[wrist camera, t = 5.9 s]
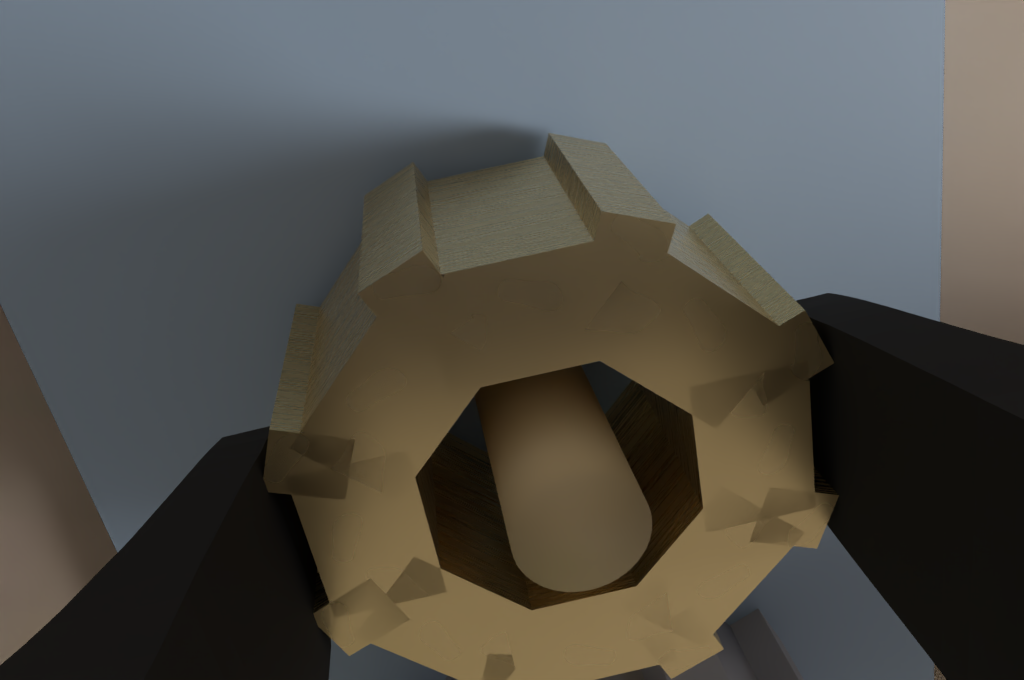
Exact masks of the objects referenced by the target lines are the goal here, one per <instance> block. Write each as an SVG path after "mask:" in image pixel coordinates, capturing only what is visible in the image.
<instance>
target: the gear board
mask: <svg viewBox="0 0 1024 680" xmlns="http://www.w3.org/2000/svg"><path fill="white" fill-rule="evenodd" d="M944 40H945V0H0V305H1V307H2V309H3V311H4V313H5V315H6V317H7V320H8V322H9V324H10V326H11V328H12V330H13V332H14V334H15V336H16V339H17V341H18V343H19V345H20V347H21V349H22V351H23V353H24V356H25V358H26V360H27V362H28V364H29V366H30V368H31V370H32V372H33V375H34V377H35V379H36V381H37V383H38V385H39V387H40V389H41V392H42V394H43V396H44V398H45V400H46V402H47V404H48V406H49V409H50V411H51V413H52V415H53V417H54V419H55V421H56V423H57V425H58V428H59V430H60V432H61V434H62V436H63V438H64V440H65V442H66V445H67V447H68V449H69V451H70V453H71V455H72V457H73V459H74V462H75V464H76V466H77V468H78V470H79V472H80V474H81V476H82V478H83V481H84V483H85V485H86V487H87V489H88V491H89V493H90V495H91V498H92V500H93V502H94V504H95V506H96V508H97V510H98V512H99V515H100V517H101V519H102V521H103V523H104V525H105V527H106V529H107V531H108V534H109V536H110V538H111V540H112V542H113V544H114V546H115V548H116V551H117V553H118V552H119V551H120V550H121V549H122V548H123V547H124V546H125V545H126V543H127V542H128V541H129V540H130V539H131V538H132V537H133V536H134V535H135V533H136V532H137V531H138V530H139V529H140V528H141V527H142V526H143V524H144V523H145V522H146V521H147V520H148V519H149V518H150V517H151V515H152V514H153V513H154V512H155V511H156V510H157V509H158V508H159V506H160V505H161V504H162V503H163V502H164V501H165V500H166V499H167V497H168V496H169V495H170V494H171V493H172V492H173V490H174V489H175V488H176V487H177V486H178V485H179V484H180V482H181V481H182V480H183V479H184V478H185V477H186V476H187V474H188V473H189V472H190V471H191V470H192V469H193V467H194V466H195V465H196V464H197V463H198V462H199V461H200V460H201V458H202V457H203V456H204V455H205V454H206V453H207V452H208V451H209V450H210V449H211V448H212V447H213V446H214V445H215V444H216V443H217V442H218V441H219V440H220V439H221V438H222V437H226V436H230V435H234V434H238V433H243V432H247V431H251V430H255V429H259V428H264V427H268V426H270V424H271V419H272V414H273V410H274V405H275V400H276V396H277V391H278V386H279V382H280V377H281V372H282V368H283V363H284V358H285V354H286V349H287V345H288V340H289V335H290V331H291V326H292V321H293V317H294V312H295V307H296V304H302V305H309V306H316V307H320V306H321V304H322V302H323V301H324V299H325V298H326V296H327V295H328V293H329V292H330V290H331V288H332V287H333V285H334V284H335V282H336V281H337V279H338V277H339V276H340V274H341V273H342V271H343V270H344V268H345V267H346V265H347V263H348V262H349V260H350V259H351V257H352V256H353V254H354V252H355V251H356V249H357V248H358V246H359V245H360V243H361V238H362V223H363V209H364V196H365V195H366V194H367V193H369V192H370V191H372V190H373V189H375V188H376V187H378V186H379V185H381V184H382V183H383V182H385V181H386V180H388V179H389V178H391V177H392V176H394V175H395V174H396V173H398V172H399V171H401V170H402V169H404V168H405V167H407V166H408V165H410V164H411V163H412V162H414V164H415V165H416V166H417V168H418V169H419V171H420V172H421V173H422V175H423V176H424V177H425V179H426V180H427V181H431V180H436V179H440V178H445V177H450V176H454V175H459V174H463V173H468V172H473V171H477V170H482V169H487V168H491V167H496V166H500V165H505V164H510V163H514V162H519V161H524V160H528V159H533V158H537V157H542V156H544V152H545V147H546V143H547V138H548V134H549V133H553V134H558V135H563V136H569V137H574V138H580V139H585V140H590V141H596V142H601V143H606V144H607V145H608V146H609V147H610V149H611V150H612V151H613V152H614V153H615V154H616V156H617V157H618V158H619V159H620V160H621V161H622V162H623V164H624V165H625V166H626V167H627V168H628V169H629V170H630V172H631V173H632V174H633V175H634V176H635V177H636V178H637V180H638V181H639V182H640V183H641V184H642V185H643V186H644V188H645V189H646V190H647V191H648V192H649V193H650V194H651V196H652V197H653V198H654V199H655V200H656V201H657V202H658V204H659V205H660V206H661V207H662V208H663V209H664V210H666V211H667V212H669V213H670V214H672V215H673V216H675V217H676V218H678V219H679V220H681V221H682V222H684V223H685V224H686V225H688V226H690V225H691V224H693V223H694V222H696V221H697V220H699V219H701V218H702V217H704V216H705V215H707V214H709V215H710V216H711V217H712V218H713V219H714V220H715V221H716V222H717V223H718V224H719V225H720V226H721V227H722V228H723V229H724V230H725V231H726V232H727V233H728V234H729V235H730V236H731V237H732V238H733V239H734V240H735V241H736V242H737V243H738V244H739V245H740V246H741V247H742V248H743V249H744V250H745V251H746V252H747V253H748V254H749V255H750V256H751V257H752V258H753V259H754V260H755V261H756V262H757V263H758V264H759V265H760V266H761V267H762V268H763V269H764V270H765V271H766V272H767V273H768V274H769V275H770V276H771V277H772V278H773V279H774V280H775V281H776V282H777V283H778V284H779V285H780V286H781V287H782V288H783V289H784V290H785V291H786V292H787V293H788V294H789V295H790V296H791V297H792V298H793V299H794V300H795V301H796V300H801V299H805V298H809V297H813V296H817V295H822V294H826V293H832V294H839V295H844V296H849V297H853V298H858V299H862V300H866V301H869V302H873V303H877V304H880V305H884V306H887V307H891V308H894V309H898V310H901V311H905V312H908V313H911V314H915V315H918V316H922V317H925V318H928V319H932V320H935V321H939V322H940V282H941V221H942V161H943V101H944ZM631 381H632V379H630V378H628V377H627V376H625V375H623V374H622V373H620V372H618V371H616V370H615V369H613V368H611V367H610V366H608V365H606V364H605V363H603V362H601V361H597V362H592V363H588V364H583V365H579V366H574V367H570V368H565V369H561V370H556V371H552V372H547V373H543V374H538V375H534V376H529V377H525V378H521V379H516V380H512V381H507V382H503V383H498V384H494V385H489V386H485V387H480V389H479V390H478V391H477V393H476V394H475V396H474V397H473V398H472V400H471V401H470V402H469V404H468V405H467V407H466V408H465V409H464V411H463V412H462V413H461V415H460V416H459V418H458V419H457V420H456V422H455V423H454V424H453V426H452V427H451V429H450V430H449V431H448V433H450V434H452V435H454V436H456V437H458V438H460V439H462V440H464V441H466V442H468V443H470V444H472V445H474V446H475V447H477V448H479V449H481V450H483V451H485V452H487V453H488V455H489V459H490V463H491V467H492V472H493V476H494V480H495V484H496V488H497V493H498V497H499V501H500V505H501V509H502V514H503V518H504V522H505V526H506V531H507V535H508V539H509V543H510V547H511V552H512V555H513V558H514V560H515V562H516V564H517V566H518V567H519V569H520V570H521V571H522V572H523V573H524V574H525V575H526V576H527V577H528V578H529V579H530V580H532V581H533V582H535V583H537V584H539V585H540V586H543V587H545V588H548V589H552V590H556V591H563V592H580V591H587V590H592V589H596V588H599V587H602V586H604V585H607V584H609V583H611V582H613V581H615V580H616V579H618V578H620V577H621V576H623V575H624V574H625V573H627V572H628V571H629V570H630V569H631V568H632V567H633V566H634V565H635V564H636V563H637V562H638V561H639V559H640V558H641V556H642V555H643V553H644V552H645V550H646V548H647V546H648V543H649V541H650V537H651V533H652V516H651V511H650V508H649V506H648V503H647V501H646V499H645V497H644V495H643V493H642V491H641V489H640V487H639V484H638V482H637V480H636V478H635V476H634V474H633V472H632V470H631V468H630V466H629V464H628V462H627V460H626V457H625V455H624V453H623V451H622V449H621V447H620V445H619V443H618V441H617V439H616V437H615V435H614V433H613V431H612V428H611V426H610V424H609V422H608V420H607V418H606V416H605V414H606V412H607V411H608V410H609V409H610V407H611V406H612V405H613V403H614V402H615V401H616V400H617V398H618V397H619V396H620V395H621V393H622V392H623V391H624V389H625V388H626V387H627V386H628V384H629V383H630V382H631ZM716 632H717V634H718V637H719V639H720V641H721V643H722V646H723V648H724V649H723V650H722V651H720V652H718V653H716V654H715V655H713V656H711V657H709V658H707V659H706V660H704V661H702V662H700V663H699V664H697V665H695V666H693V667H692V668H690V669H688V670H686V671H685V672H683V673H681V674H679V675H677V676H676V677H674V678H672V679H671V678H670V677H669V675H668V674H667V673H666V672H665V671H664V669H663V668H662V667H661V666H660V665H656V666H652V667H647V668H643V669H639V670H634V671H630V672H626V673H622V674H617V675H613V676H609V677H604V678H600V679H596V680H934V662H933V661H932V660H931V658H930V657H929V656H928V655H927V653H926V652H925V651H924V649H923V648H922V647H921V646H920V644H919V643H918V642H917V640H916V639H915V638H914V637H913V635H912V634H911V633H910V632H909V630H908V629H907V628H906V626H905V625H904V624H903V623H902V621H901V620H900V619H899V617H898V616H897V615H896V614H895V612H894V611H893V610H892V608H891V607H890V606H889V605H888V603H887V602H886V601H885V600H884V598H883V597H882V596H881V594H880V593H879V592H878V591H877V589H876V588H875V587H874V585H873V584H872V583H871V582H870V580H869V579H868V578H867V577H866V575H865V574H864V573H863V571H862V570H861V569H860V567H859V566H858V565H857V564H856V562H855V561H854V560H853V558H852V557H851V556H850V554H849V553H848V552H847V551H846V549H845V548H844V547H843V545H842V544H841V543H840V541H839V540H838V539H837V537H836V536H835V535H834V533H833V532H832V531H831V529H830V528H829V527H828V525H827V526H826V528H825V531H824V533H823V535H822V538H821V540H820V543H819V545H818V547H817V549H816V548H806V547H796V546H793V547H792V548H791V549H790V550H789V552H788V553H787V554H786V555H785V556H784V557H783V558H782V559H781V560H780V561H779V562H778V564H777V565H776V566H775V567H774V568H773V569H772V570H771V571H770V572H769V573H768V575H767V576H766V577H765V578H764V579H763V580H762V581H761V582H760V583H759V584H758V585H757V587H756V588H755V589H754V590H753V591H752V592H751V593H750V594H749V595H748V596H747V598H746V599H745V600H744V601H743V602H742V603H741V604H740V605H739V606H738V607H737V608H736V610H735V611H734V612H733V613H732V614H731V615H730V616H729V617H728V618H727V619H726V620H725V622H724V623H723V624H722V625H721V626H720V627H719V628H718V629H717V630H716ZM329 680H458V679H455V678H453V677H450V676H448V675H445V674H443V673H441V672H438V671H436V670H433V669H431V668H429V667H426V666H424V665H421V664H419V663H417V662H414V661H412V660H409V659H407V658H405V657H402V656H400V655H397V654H395V653H393V652H390V651H388V650H385V649H383V648H381V647H378V646H376V645H373V644H371V643H370V644H369V645H367V646H365V647H364V648H362V649H360V650H359V651H357V652H355V653H354V654H352V655H350V656H349V655H348V654H347V653H345V652H344V651H343V650H342V649H341V648H340V647H339V646H338V645H337V644H336V643H335V642H334V641H333V640H332V639H331V655H330V669H329Z"/></svg>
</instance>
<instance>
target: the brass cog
mask: <svg viewBox="0 0 1024 680" xmlns="http://www.w3.org/2000/svg"><path fill="white" fill-rule="evenodd" d="M597 361H601V362H603V363H605V364H606V365H608V366H610V367H611V368H613V369H615V370H616V371H618V372H620V373H622V374H623V375H625V376H627V377H628V378H630V379H632V381H631V382H630V383H629V384H628V386H627V387H626V388H625V389H624V391H623V392H622V393H621V395H620V396H619V397H618V398H617V400H616V401H615V402H614V403H613V405H612V406H611V407H610V409H609V410H608V411H607V412H606V414H605V416H606V418H607V420H608V422H609V424H610V426H611V428H612V431H613V433H614V435H615V437H616V439H617V441H618V443H619V445H620V447H621V449H622V451H623V453H624V455H625V457H626V460H627V462H628V464H629V466H630V468H631V470H632V472H633V474H634V476H635V478H636V480H637V482H638V484H639V487H640V489H641V491H642V493H643V495H644V497H645V499H646V501H647V503H648V506H649V508H650V511H651V516H652V533H651V537H650V541H649V543H648V546H647V548H646V550H645V552H644V553H643V555H642V556H641V558H640V559H639V561H638V562H637V563H636V564H635V565H634V566H633V567H632V568H631V569H630V570H629V571H628V572H627V573H625V574H624V575H623V576H621V577H620V578H618V579H616V580H615V581H613V582H611V583H609V584H607V585H604V586H602V587H599V588H596V589H592V590H587V591H580V592H563V591H556V590H552V589H548V588H545V587H543V586H540V585H539V584H537V583H535V582H533V581H532V580H530V579H529V578H528V577H527V576H526V575H525V574H524V573H523V572H522V571H521V570H520V569H519V567H518V566H517V564H516V562H515V560H514V558H513V555H512V552H511V547H510V543H509V539H508V535H507V531H506V526H505V522H504V518H503V514H502V509H501V505H500V501H499V497H498V493H497V488H496V484H495V480H494V476H493V472H492V467H491V463H490V459H489V455H488V453H487V452H485V451H483V450H481V449H479V448H477V447H475V446H474V445H472V444H470V443H468V442H466V441H464V440H462V439H460V438H458V437H456V436H454V435H452V434H450V433H448V431H449V430H450V429H451V427H452V426H453V424H454V423H455V422H456V420H457V419H458V418H459V416H460V415H461V413H462V412H463V411H464V409H465V408H466V407H467V405H468V404H469V402H470V401H471V400H472V398H473V397H474V396H475V394H476V393H477V391H478V390H479V389H480V387H485V386H489V385H494V384H498V383H503V382H507V381H512V380H516V379H521V378H525V377H529V376H534V375H538V374H543V373H547V372H552V371H556V370H561V369H565V368H570V367H574V366H579V365H583V364H588V363H592V362H597ZM832 364H834V361H833V360H832V358H831V356H830V354H829V352H828V351H827V349H826V347H825V345H824V343H823V342H822V340H821V338H820V336H819V334H818V333H817V331H816V329H815V327H814V325H813V324H812V322H811V320H810V318H809V316H808V314H807V313H806V311H805V310H804V309H803V308H802V307H801V306H800V305H799V304H798V303H797V302H796V301H795V300H794V299H793V298H792V297H791V296H790V295H789V294H788V293H787V292H786V291H785V290H784V289H783V288H782V287H781V286H780V285H779V284H778V283H777V282H776V281H775V280H774V279H773V278H772V277H771V276H770V275H769V274H768V273H767V272H766V271H765V270H764V269H763V268H762V267H761V266H760V265H759V264H758V263H757V262H756V261H755V260H754V259H753V258H752V257H751V256H750V255H749V254H748V253H747V252H746V251H745V250H744V249H743V248H742V247H741V246H740V245H739V244H738V243H737V242H736V241H735V240H734V239H733V238H732V237H731V236H730V235H729V234H728V233H727V232H726V231H725V230H724V229H723V228H722V227H721V226H720V225H719V224H718V223H717V222H716V221H715V220H714V219H713V218H712V217H711V216H710V215H709V214H707V215H705V216H704V217H702V218H701V219H699V220H697V221H696V222H694V223H693V224H691V225H690V226H688V225H686V224H685V223H684V222H682V221H681V220H679V219H678V218H676V217H675V216H673V215H672V214H670V213H669V212H667V211H666V210H664V209H663V208H662V207H661V206H660V205H659V204H658V202H657V201H656V200H655V199H654V198H653V197H652V196H651V194H650V193H649V192H648V191H647V190H646V189H645V188H644V186H643V185H642V184H641V183H640V182H639V181H638V180H637V178H636V177H635V176H634V175H633V174H632V173H631V172H630V170H629V169H628V168H627V167H626V166H625V165H624V164H623V162H622V161H621V160H620V159H619V158H618V157H617V156H616V154H615V153H614V152H613V151H612V150H611V149H610V147H609V146H608V145H607V144H606V143H601V142H596V141H590V140H585V139H580V138H574V137H569V136H563V135H558V134H553V133H549V134H548V138H547V143H546V147H545V152H544V156H542V157H537V158H533V159H528V160H524V161H519V162H514V163H510V164H505V165H500V166H496V167H491V168H487V169H482V170H477V171H473V172H468V173H463V174H459V175H454V176H450V177H445V178H440V179H436V180H431V181H427V180H426V179H425V177H424V176H423V175H422V173H421V172H420V171H419V169H418V168H417V166H416V165H415V164H414V162H412V163H411V164H410V165H408V166H407V167H405V168H404V169H402V170H401V171H399V172H398V173H396V174H395V175H394V176H392V177H391V178H389V179H388V180H386V181H385V182H383V183H382V184H381V185H379V186H378V187H376V188H375V189H373V190H372V191H370V192H369V193H367V194H366V195H365V196H364V209H363V223H362V238H361V243H360V245H359V246H358V248H357V249H356V251H355V252H354V254H353V256H352V257H351V259H350V260H349V262H348V263H347V265H346V267H345V268H344V270H343V271H342V273H341V274H340V276H339V277H338V279H337V281H336V282H335V284H334V285H333V287H332V288H331V290H330V292H329V293H328V295H327V296H326V298H325V299H324V301H323V302H322V304H321V306H320V307H316V306H309V305H302V304H296V307H295V312H294V317H293V321H292V326H291V331H290V335H289V340H288V345H287V349H286V354H285V358H284V363H283V368H282V372H281V377H280V382H279V386H278V391H277V396H276V400H275V405H274V410H273V414H272V419H271V424H270V428H269V435H268V444H267V452H266V460H265V469H264V477H263V479H264V482H265V484H266V487H267V490H268V492H271V493H281V494H290V495H292V498H293V501H294V504H295V506H296V509H297V512H298V515H299V518H300V521H301V523H302V526H303V529H304V532H305V535H306V537H307V540H308V543H309V546H310V549H311V552H312V554H313V557H314V560H315V563H316V566H317V580H316V595H315V606H314V612H313V614H314V617H315V620H316V622H317V625H318V627H319V628H320V629H321V630H323V631H324V632H325V633H326V634H327V635H328V636H329V637H330V638H331V639H332V640H333V641H334V642H335V643H336V644H337V645H338V646H339V647H340V648H341V649H342V650H343V651H344V652H345V653H347V654H348V655H349V656H350V655H352V654H354V653H355V652H357V651H359V650H360V649H362V648H364V647H365V646H367V645H369V644H370V643H371V644H373V645H376V646H378V647H381V648H383V649H385V650H388V651H390V652H393V653H395V654H397V655H400V656H402V657H405V658H407V659H409V660H412V661H414V662H417V663H419V664H421V665H424V666H426V667H429V668H431V669H433V670H436V671H438V672H441V673H443V674H445V675H448V676H450V677H453V678H455V679H458V680H596V679H600V678H604V677H609V676H613V675H617V674H622V673H626V672H630V671H634V670H639V669H643V668H647V667H652V666H656V665H660V666H661V667H662V668H663V669H664V671H665V672H666V673H667V674H668V675H669V677H670V678H671V679H672V678H674V677H676V676H677V675H679V674H681V673H683V672H685V671H686V670H688V669H690V668H692V667H693V666H695V665H697V664H699V663H700V662H702V661H704V660H706V659H707V658H709V657H711V656H713V655H715V654H716V653H718V652H720V651H722V650H723V649H724V648H723V646H722V643H721V641H720V639H719V637H718V634H717V632H716V630H717V629H718V628H719V627H720V626H721V625H722V624H723V623H724V622H725V620H726V619H727V618H728V617H729V616H730V615H731V614H732V613H733V612H734V611H735V610H736V608H737V607H738V606H739V605H740V604H741V603H742V602H743V601H744V600H745V599H746V598H747V596H748V595H749V594H750V593H751V592H752V591H753V590H754V589H755V588H756V587H757V585H758V584H759V583H760V582H761V581H762V580H763V579H764V578H765V577H766V576H767V575H768V573H769V572H770V571H771V570H772V569H773V568H774V567H775V566H776V565H777V564H778V562H779V561H780V560H781V559H782V558H783V557H784V556H785V555H786V554H787V553H788V552H789V550H790V549H791V548H792V547H793V546H796V547H806V548H816V549H817V547H818V545H819V543H820V540H821V538H822V535H823V533H824V531H825V528H826V526H827V523H828V521H829V518H830V516H831V514H832V511H833V509H834V506H835V504H836V502H837V499H838V497H839V495H838V494H837V493H836V491H835V490H834V489H833V488H832V487H831V486H830V485H829V484H828V483H827V482H826V481H825V480H824V479H823V477H822V476H821V475H820V474H819V472H818V471H817V470H816V469H815V467H814V462H813V442H812V422H811V402H810V382H809V378H810V377H812V376H814V375H815V374H817V373H819V372H820V371H822V370H824V369H825V368H827V367H829V366H830V365H832Z"/></svg>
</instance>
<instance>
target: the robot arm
mask: <svg viewBox="0 0 1024 680" xmlns="http://www.w3.org/2000/svg"><path fill="white" fill-rule="evenodd" d="M796 302H797V303H798V304H799V305H800V306H801V307H802V308H803V309H804V310H805V311H806V313H807V314H808V316H809V318H810V320H811V322H812V324H813V325H814V327H815V329H816V331H817V333H818V334H819V336H820V338H821V340H822V342H823V343H824V345H825V347H826V349H827V351H828V352H829V354H830V356H831V358H832V360H833V361H834V364H832V365H830V366H829V367H827V368H825V369H824V370H822V371H820V372H819V373H817V374H815V375H814V376H812V377H810V378H809V382H810V402H811V422H812V442H813V462H814V467H815V469H816V470H817V471H818V472H819V474H820V475H821V476H822V477H823V479H824V480H825V481H826V482H827V483H828V484H829V485H830V486H831V487H832V488H833V489H834V490H835V491H836V493H837V494H838V495H839V497H838V499H837V502H836V504H835V506H834V509H833V511H832V514H831V516H830V518H829V521H828V523H827V525H828V527H829V528H830V529H831V531H832V532H833V533H834V535H835V536H836V537H837V539H838V540H839V541H840V543H841V544H842V545H843V547H844V548H845V549H846V551H847V552H848V553H849V554H850V556H851V557H852V558H853V560H854V561H855V562H856V564H857V565H858V566H859V567H860V569H861V570H862V571H863V573H864V574H865V575H866V577H867V578H868V579H869V580H870V582H871V583H872V584H873V585H874V587H875V588H876V589H877V591H878V592H879V593H880V594H881V596H882V597H883V598H884V600H885V601H886V602H887V603H888V605H889V606H890V607H891V608H892V610H893V611H894V612H895V614H896V615H897V616H898V617H899V619H900V620H901V621H902V623H903V624H904V625H905V626H906V628H907V629H908V630H909V632H910V633H911V634H912V635H913V637H914V638H915V639H916V640H917V642H918V643H919V644H920V646H921V647H922V648H923V649H924V651H925V652H926V653H927V655H928V656H929V657H930V658H931V660H932V661H933V662H934V663H935V665H936V666H937V667H938V669H939V670H940V671H941V673H942V674H943V675H944V677H945V678H946V680H1024V345H1021V344H1017V343H1013V342H1010V341H1006V340H1002V339H998V338H995V337H991V336H987V335H984V334H980V333H977V332H973V331H970V330H966V329H963V328H959V327H956V326H952V325H949V324H946V323H942V322H939V321H935V320H932V319H928V318H925V317H922V316H918V315H915V314H911V313H908V312H905V311H901V310H898V309H894V308H891V307H887V306H884V305H880V304H877V303H873V302H869V301H866V300H862V299H858V298H853V297H849V296H844V295H839V294H832V293H826V294H822V295H817V296H813V297H809V298H805V299H801V300H796ZM269 428H270V426H268V427H264V428H259V429H255V430H251V431H247V432H243V433H238V434H234V435H230V436H226V437H222V438H221V439H220V440H219V441H218V442H217V443H216V444H215V445H214V446H213V447H212V448H211V449H210V450H209V451H208V452H207V453H206V454H205V455H204V456H203V457H202V458H201V460H200V461H199V462H198V463H197V464H196V465H195V466H194V467H193V469H192V470H191V471H190V472H189V473H188V474H187V476H186V477H185V478H184V479H183V480H182V481H181V482H180V484H179V485H178V486H177V487H176V488H175V489H174V490H173V492H172V493H171V494H170V495H169V496H168V497H167V499H166V500H165V501H164V502H163V503H162V504H161V505H160V506H159V508H158V509H157V510H156V511H155V512H154V513H153V514H152V515H151V517H150V518H149V519H148V520H147V521H146V522H145V523H144V524H143V526H142V527H141V528H140V529H139V530H138V531H137V532H136V533H135V535H134V536H133V537H132V538H131V539H130V540H129V541H128V542H127V543H126V545H125V546H124V547H123V548H122V549H121V550H120V551H119V552H118V553H117V554H116V555H115V556H114V557H113V558H112V559H111V560H110V561H109V562H108V563H107V564H106V565H105V566H104V567H103V568H102V569H101V570H100V571H99V572H98V573H97V574H96V575H95V576H94V577H93V578H92V580H91V581H90V582H89V583H88V584H87V585H86V586H85V587H84V588H83V589H82V590H81V591H80V592H79V593H78V594H77V595H76V596H75V597H74V598H73V599H72V600H71V601H70V602H69V603H68V604H67V605H66V606H65V607H64V608H63V609H62V610H61V611H60V612H59V613H58V614H57V615H56V616H55V617H54V618H53V619H52V620H51V621H50V622H49V623H48V624H46V625H45V626H44V627H43V628H42V629H41V630H40V631H39V632H38V633H37V634H36V635H34V636H33V637H32V638H31V639H30V640H29V641H28V642H27V643H26V644H25V645H23V646H22V647H21V648H20V649H19V650H18V651H17V652H15V653H14V654H13V655H12V656H11V657H10V658H8V659H7V660H6V661H5V662H4V663H3V664H1V665H0V680H329V669H330V655H331V638H330V637H329V636H328V635H327V634H326V633H325V632H324V631H323V630H321V629H320V628H319V627H318V625H317V622H316V620H315V617H314V614H313V612H314V606H315V595H316V580H317V566H316V563H315V560H314V557H313V554H312V552H311V549H310V546H309V543H308V540H307V537H306V535H305V532H304V529H303V526H302V523H301V521H300V518H299V515H298V512H297V509H296V506H295V504H294V501H293V498H292V495H290V494H281V493H271V492H268V490H267V487H266V484H265V482H264V479H263V477H264V469H265V460H266V452H267V444H268V435H269Z"/></svg>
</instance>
